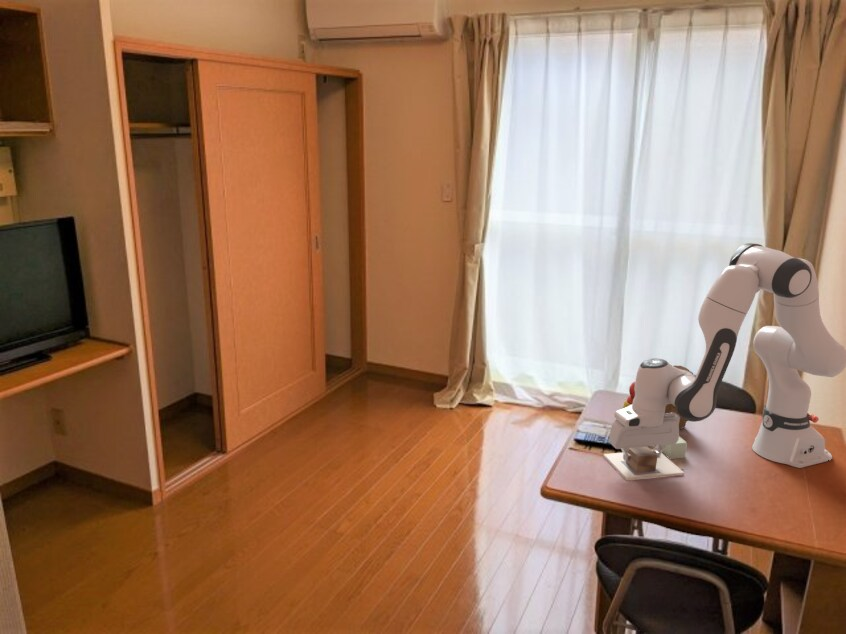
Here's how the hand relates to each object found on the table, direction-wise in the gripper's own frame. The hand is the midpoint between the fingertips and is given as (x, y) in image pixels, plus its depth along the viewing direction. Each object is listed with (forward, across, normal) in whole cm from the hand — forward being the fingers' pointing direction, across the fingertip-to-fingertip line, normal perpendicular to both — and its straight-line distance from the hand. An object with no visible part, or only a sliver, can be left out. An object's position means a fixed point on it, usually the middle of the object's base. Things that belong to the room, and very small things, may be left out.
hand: (641, 458), depth 192 cm
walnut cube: (+3, 0, 0) cm, 3 cm away
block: (+4, -26, -26) cm, 37 cm away
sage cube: (+4, -15, -7) cm, 17 cm away
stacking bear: (+4, -11, -22) cm, 25 cm away
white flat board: (+4, -2, -2) cm, 4 cm away
